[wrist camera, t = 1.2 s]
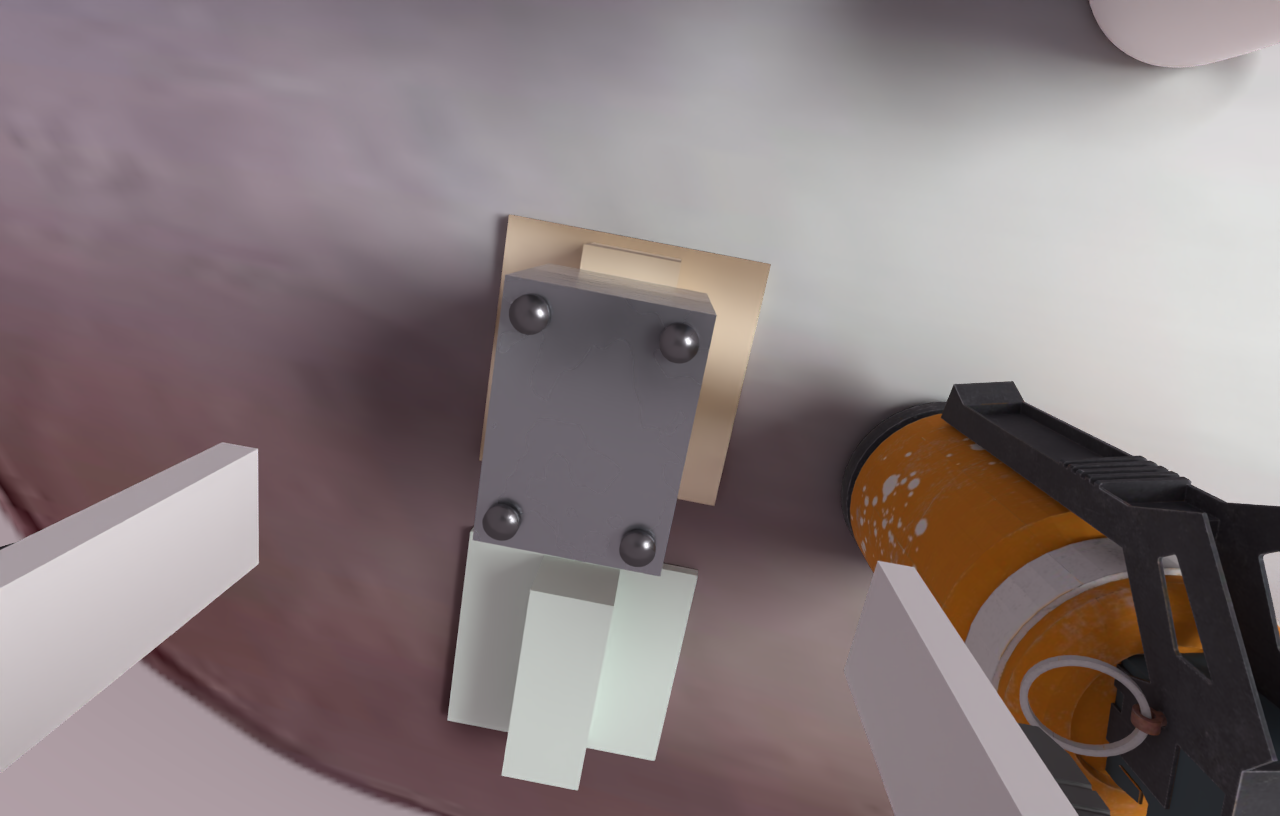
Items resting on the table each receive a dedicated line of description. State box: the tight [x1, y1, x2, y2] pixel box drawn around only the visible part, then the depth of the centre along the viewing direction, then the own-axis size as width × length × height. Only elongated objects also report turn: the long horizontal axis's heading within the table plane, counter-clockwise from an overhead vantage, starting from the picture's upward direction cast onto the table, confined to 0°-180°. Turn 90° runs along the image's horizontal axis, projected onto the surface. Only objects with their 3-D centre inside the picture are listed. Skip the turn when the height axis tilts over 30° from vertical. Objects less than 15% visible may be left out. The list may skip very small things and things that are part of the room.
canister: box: [841, 381, 1280, 816], centre depth 22 cm, size 9×11×20 cm
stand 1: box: [479, 215, 771, 506], centre depth 29 cm, size 12×12×4 cm
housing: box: [472, 263, 717, 576], centre depth 24 cm, size 9×6×7 cm
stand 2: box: [447, 527, 698, 790], centre depth 34 cm, size 12×12×4 cm
